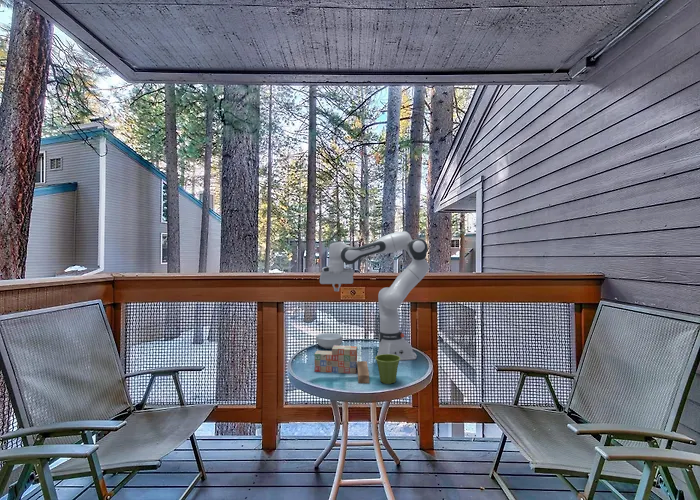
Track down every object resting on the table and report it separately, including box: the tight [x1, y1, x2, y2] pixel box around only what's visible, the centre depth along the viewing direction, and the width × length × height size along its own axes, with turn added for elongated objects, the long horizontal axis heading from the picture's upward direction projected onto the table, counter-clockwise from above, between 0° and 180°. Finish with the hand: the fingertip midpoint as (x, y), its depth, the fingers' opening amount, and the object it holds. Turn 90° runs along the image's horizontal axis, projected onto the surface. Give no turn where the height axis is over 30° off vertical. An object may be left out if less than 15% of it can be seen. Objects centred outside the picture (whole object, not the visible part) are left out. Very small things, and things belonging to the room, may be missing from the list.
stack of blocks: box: [314, 345, 358, 374], centre depth 182 cm, size 21×6×12 cm, turn 83°
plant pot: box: [374, 354, 401, 385], centre depth 168 cm, size 12×12×11 cm
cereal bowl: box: [315, 332, 343, 350], centre depth 224 cm, size 17×17×7 cm
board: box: [356, 360, 370, 384], centre depth 176 cm, size 5×20×4 cm, turn 0°
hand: (336, 291), depth 214 cm, fingers closed
